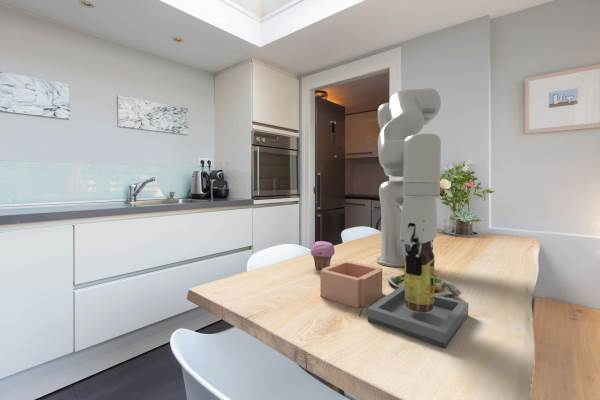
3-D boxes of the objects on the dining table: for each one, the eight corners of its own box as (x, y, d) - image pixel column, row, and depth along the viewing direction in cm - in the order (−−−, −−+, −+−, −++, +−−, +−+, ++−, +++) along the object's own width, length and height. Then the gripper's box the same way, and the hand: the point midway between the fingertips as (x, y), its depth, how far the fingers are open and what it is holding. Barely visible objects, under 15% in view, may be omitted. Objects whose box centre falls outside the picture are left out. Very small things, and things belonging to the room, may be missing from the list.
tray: (400, 297, 77) (401, 286, 77) (468, 315, 66) (468, 302, 66) (367, 321, 64) (367, 308, 64) (445, 348, 53) (445, 333, 53)
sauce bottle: (437, 314, 61) (439, 222, 60) (406, 312, 62) (407, 222, 61) (429, 302, 68) (431, 218, 66) (402, 300, 69) (403, 218, 68)
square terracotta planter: (344, 282, 89) (344, 260, 88) (384, 293, 80) (385, 268, 79) (318, 295, 79) (318, 270, 78) (360, 309, 70) (360, 281, 70)
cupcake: (311, 264, 109) (311, 238, 108) (334, 265, 108) (334, 239, 107) (309, 271, 100) (309, 243, 99) (334, 272, 99) (334, 244, 98)
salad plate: (479, 296, 78) (479, 279, 78) (431, 308, 71) (431, 290, 71) (422, 275, 96) (423, 262, 96) (380, 283, 89) (380, 268, 89)
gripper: (418, 190, 72) (416, 260, 73) (387, 192, 60) (386, 276, 61) (450, 190, 67) (448, 265, 68) (424, 192, 55) (423, 284, 56)
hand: (419, 270), depth 65 cm, fingers closed on sauce bottle, 6 cm apart
